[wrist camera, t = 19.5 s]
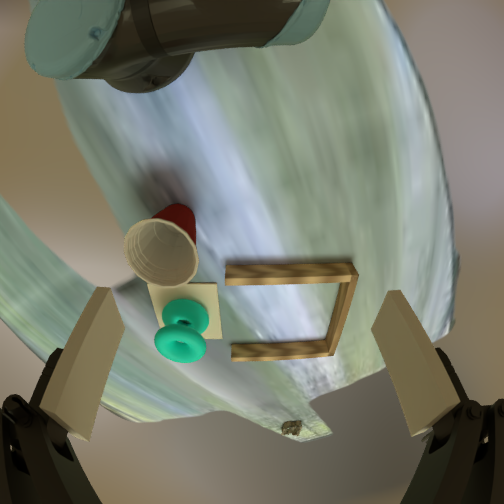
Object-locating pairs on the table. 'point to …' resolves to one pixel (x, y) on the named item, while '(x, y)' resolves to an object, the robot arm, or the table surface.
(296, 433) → the rough brown lump
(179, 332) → the donuts
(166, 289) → the beige mat
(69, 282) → the table surface
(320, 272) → the wooden u-shaped frame
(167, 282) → the plastic cup
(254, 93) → the table surface
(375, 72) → the table surface
